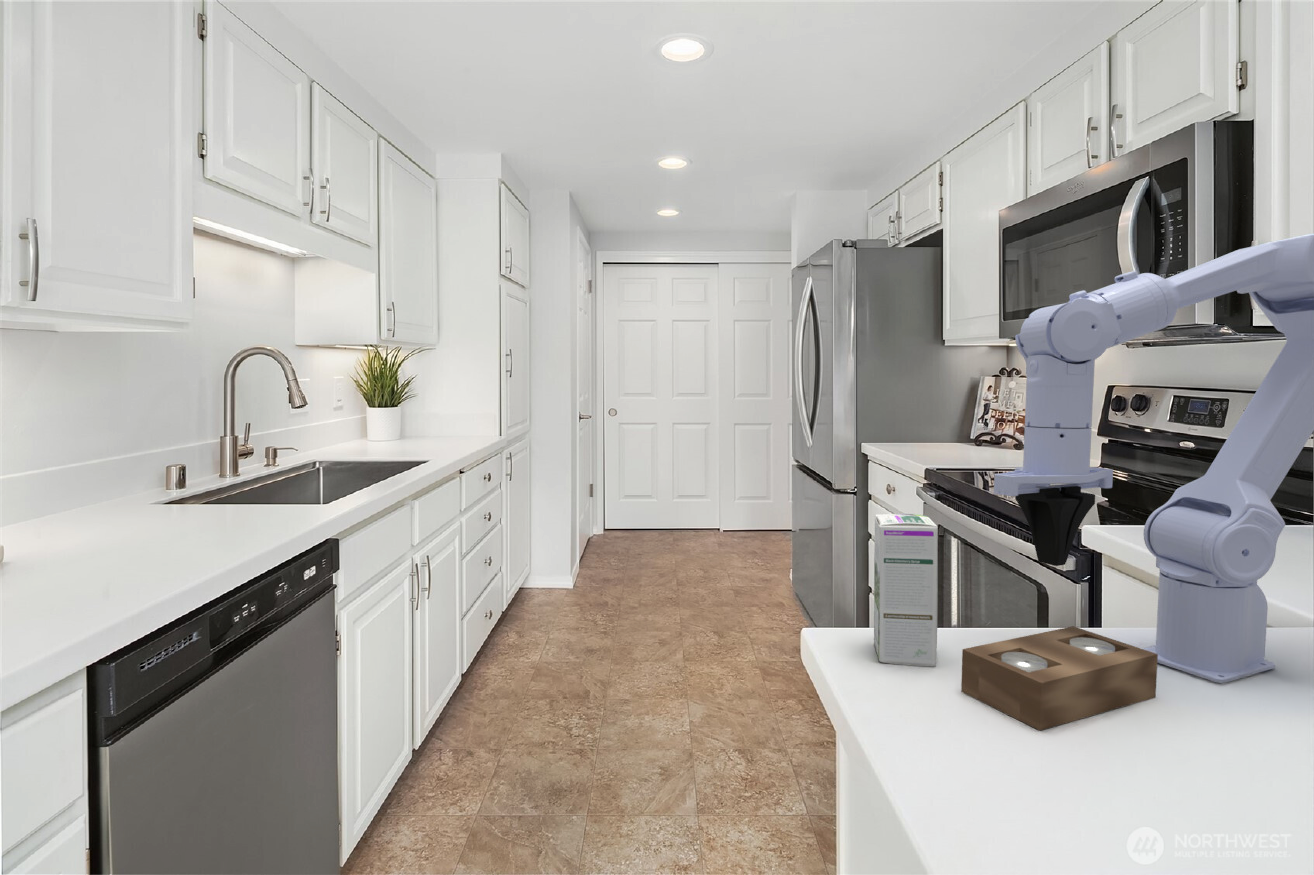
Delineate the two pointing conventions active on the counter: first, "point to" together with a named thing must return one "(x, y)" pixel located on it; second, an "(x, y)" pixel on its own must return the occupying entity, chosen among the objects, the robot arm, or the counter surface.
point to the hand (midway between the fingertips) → (1051, 563)
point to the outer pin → (1024, 661)
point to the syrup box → (905, 589)
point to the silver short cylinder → (1092, 645)
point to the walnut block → (1058, 678)
